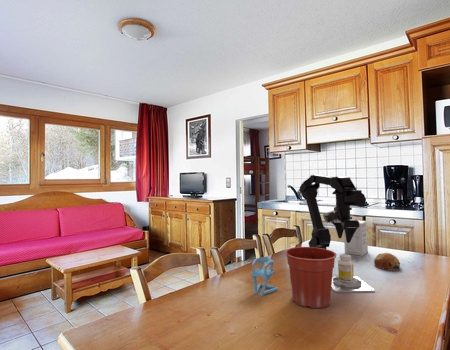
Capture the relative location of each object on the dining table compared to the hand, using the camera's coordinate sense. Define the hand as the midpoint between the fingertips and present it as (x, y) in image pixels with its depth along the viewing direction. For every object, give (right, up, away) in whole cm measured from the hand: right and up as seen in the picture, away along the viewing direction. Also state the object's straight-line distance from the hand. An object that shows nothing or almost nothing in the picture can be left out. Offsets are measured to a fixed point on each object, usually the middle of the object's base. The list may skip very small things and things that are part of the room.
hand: (344, 240), depth 124 cm
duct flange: (-6, -13, -17) cm, 22 cm away
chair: (-38, -14, -21) cm, 46 cm away
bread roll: (+21, -13, +3) cm, 25 cm away
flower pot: (-23, -14, -30) cm, 40 cm away
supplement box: (+18, -13, +27) cm, 35 cm away
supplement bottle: (-6, -12, -17) cm, 21 cm away
